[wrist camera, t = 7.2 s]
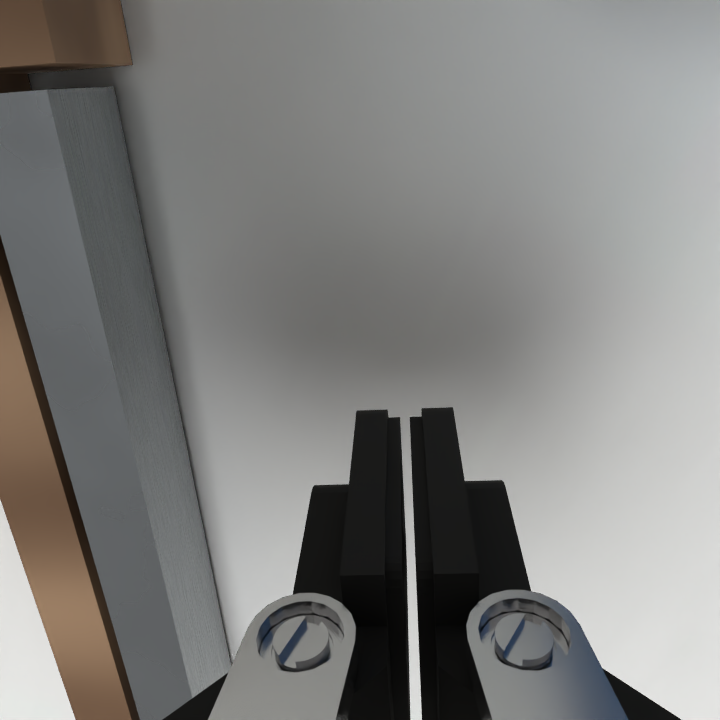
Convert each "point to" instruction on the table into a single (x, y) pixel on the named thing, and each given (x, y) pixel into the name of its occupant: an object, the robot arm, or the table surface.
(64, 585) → the brown bar with block
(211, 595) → the long gray metal bar
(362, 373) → the table surface
